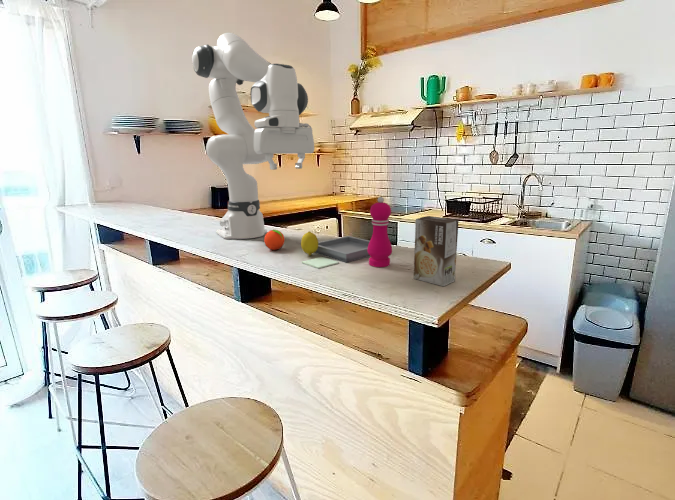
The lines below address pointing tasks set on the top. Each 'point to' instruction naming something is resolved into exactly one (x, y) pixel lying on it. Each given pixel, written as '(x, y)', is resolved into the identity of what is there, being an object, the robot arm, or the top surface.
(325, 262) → the green mat
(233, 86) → the robot arm
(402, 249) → the top surface
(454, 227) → the coffee box
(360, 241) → the slate tray
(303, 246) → the lemon
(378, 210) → the pepper mill
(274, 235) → the clementine
